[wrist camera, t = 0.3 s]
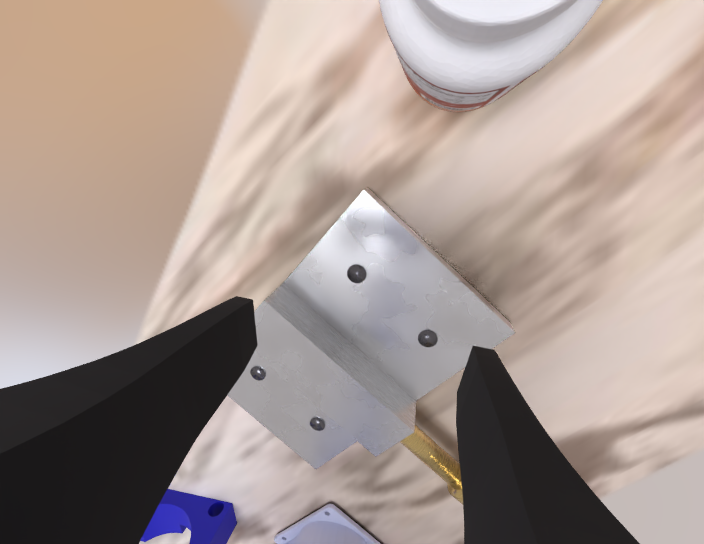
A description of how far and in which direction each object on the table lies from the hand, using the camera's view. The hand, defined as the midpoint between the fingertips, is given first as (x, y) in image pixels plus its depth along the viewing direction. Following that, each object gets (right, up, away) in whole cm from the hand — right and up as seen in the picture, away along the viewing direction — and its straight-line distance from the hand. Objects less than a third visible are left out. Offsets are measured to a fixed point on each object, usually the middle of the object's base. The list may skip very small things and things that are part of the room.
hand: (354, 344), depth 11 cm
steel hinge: (-1, -3, +13) cm, 13 cm away
